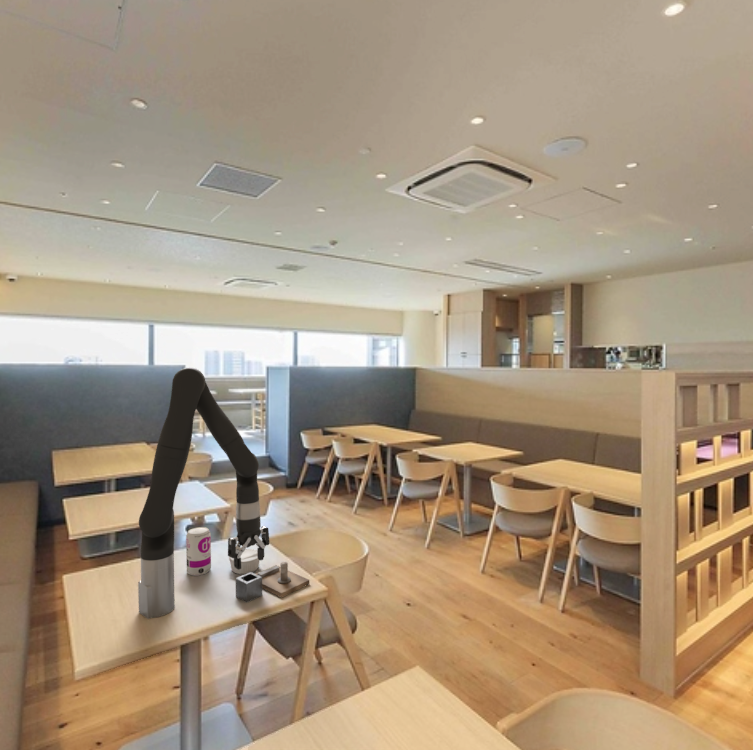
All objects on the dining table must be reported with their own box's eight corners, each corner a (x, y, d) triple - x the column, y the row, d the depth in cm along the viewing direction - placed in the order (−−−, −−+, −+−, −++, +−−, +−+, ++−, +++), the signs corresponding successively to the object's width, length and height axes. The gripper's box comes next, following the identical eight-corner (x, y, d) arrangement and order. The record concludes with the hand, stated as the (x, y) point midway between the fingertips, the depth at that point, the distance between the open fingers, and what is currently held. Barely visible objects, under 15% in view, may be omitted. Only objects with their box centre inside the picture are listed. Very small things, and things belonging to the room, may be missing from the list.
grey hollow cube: (246, 602, 151) (246, 583, 150) (235, 596, 154) (235, 578, 154) (262, 595, 155) (262, 577, 155) (251, 589, 159) (251, 571, 159)
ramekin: (253, 577, 168) (253, 562, 168) (223, 574, 170) (223, 560, 170) (265, 563, 179) (265, 549, 179) (237, 561, 181) (237, 547, 181)
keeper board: (281, 597, 154) (281, 574, 153) (248, 580, 165) (248, 559, 165) (309, 584, 163) (309, 562, 163) (276, 569, 174) (275, 548, 174)
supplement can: (215, 569, 174) (215, 529, 173) (196, 578, 167) (195, 536, 166) (201, 564, 178) (200, 524, 178) (181, 572, 171) (181, 531, 171)
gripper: (235, 523, 146) (237, 575, 147) (273, 511, 157) (274, 559, 158) (222, 518, 151) (223, 568, 151) (259, 506, 162) (260, 553, 162)
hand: (249, 564), depth 154 cm, fingers open, 8 cm apart
